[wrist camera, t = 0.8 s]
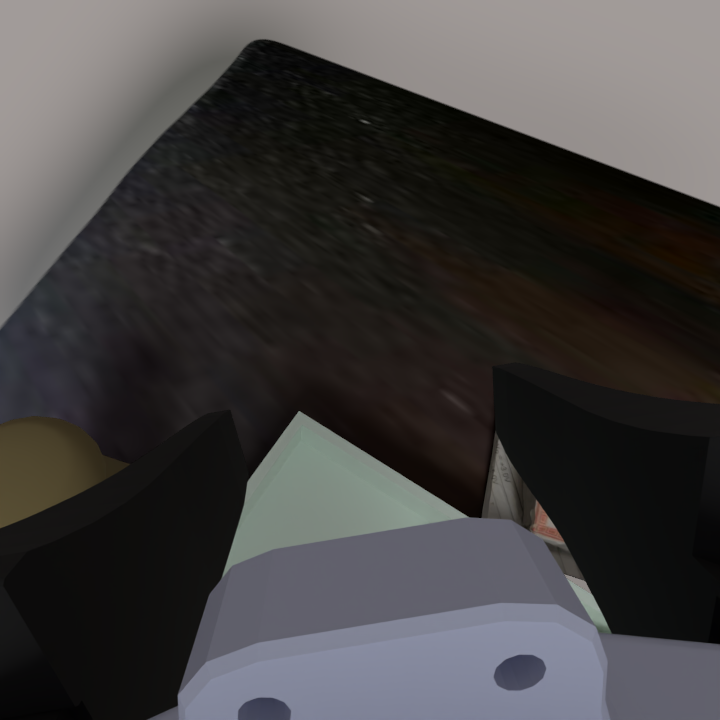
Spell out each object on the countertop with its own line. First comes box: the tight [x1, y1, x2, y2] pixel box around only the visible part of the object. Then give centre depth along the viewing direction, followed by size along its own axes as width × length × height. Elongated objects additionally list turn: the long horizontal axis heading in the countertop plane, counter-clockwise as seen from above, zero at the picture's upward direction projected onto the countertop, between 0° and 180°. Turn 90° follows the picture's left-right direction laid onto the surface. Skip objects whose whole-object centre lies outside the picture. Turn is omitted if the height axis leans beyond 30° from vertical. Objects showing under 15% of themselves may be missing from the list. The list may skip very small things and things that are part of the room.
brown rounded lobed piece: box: [0, 416, 130, 528], centre depth 21 cm, size 6×6×11 cm
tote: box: [222, 411, 612, 634], centre depth 23 cm, size 14×22×4 cm, turn 59°
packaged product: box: [482, 431, 585, 581], centre depth 28 cm, size 18×5×10 cm
